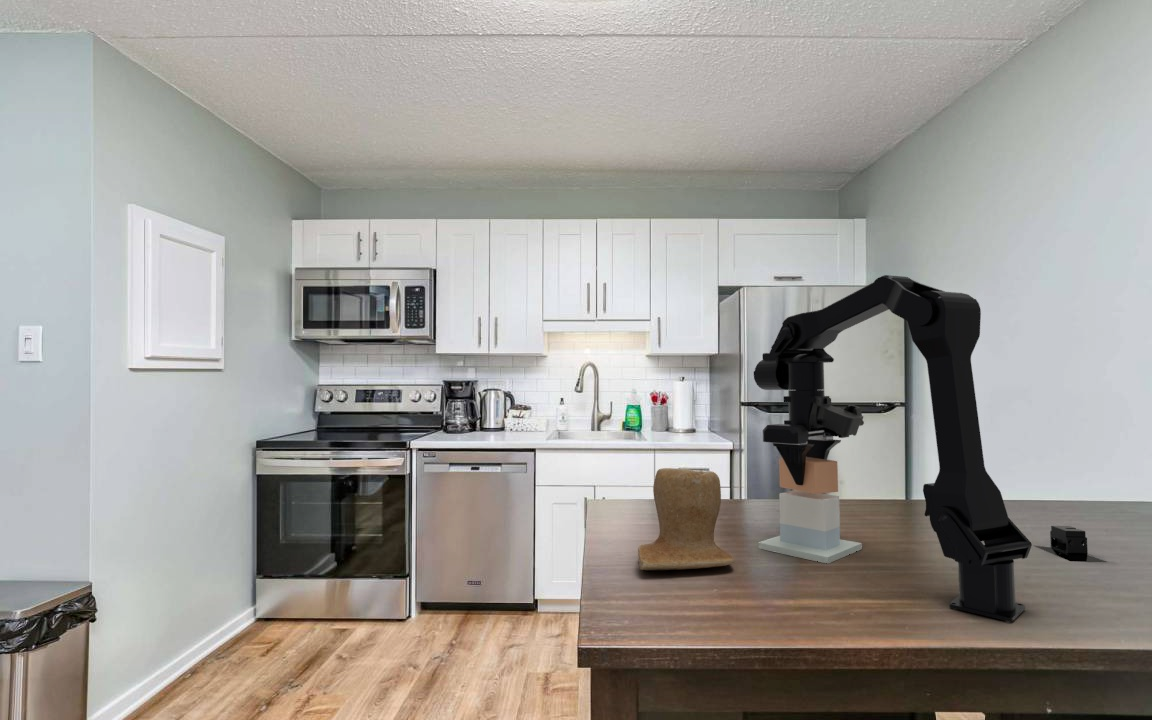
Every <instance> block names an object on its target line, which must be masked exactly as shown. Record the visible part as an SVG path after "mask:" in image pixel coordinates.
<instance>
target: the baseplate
mask: <svg viewBox="0 0 1152 720" xmlns="http://www.w3.org/2000/svg"><path fill="white" fill-rule="evenodd" d="M862 546H863V543H861V542H858V541H857V542H856V541H852V540H845V539H841V526H840V527H837V528H834V529H831V530H829V531H826V532H825V531H820V530H814V529H809V528H803V527H798V526H792V525H787V524H781V523H780V522H779V535H778V536H774V537H771V538H768V539H764V540H762V541H759V542H758V546H757V547H758V549H759V550H764V551H767V552H772V553H773V552H774V553H778V554H781V555H782V554H783V555H785V556H791V557H796V558H800V559H805V560H808V561H809V560H810V561H813V562H817V561H818V563H822V564H826V563H827V564H831V563H833V562H835V561H837V560H840V559H842V558H845V557H847V556H849V554H850V555H852V554H854V553H856V551H857V552H859V551H861V550H862V549H863V547H862Z"/></svg>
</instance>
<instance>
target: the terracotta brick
mask: <svg viewBox="0 0 1152 720" xmlns="http://www.w3.org/2000/svg"><path fill="white" fill-rule="evenodd" d="M778 460H779V461H778V462H779V464H778V467H779V469H778V470H779V473H778V475H779V487H780V488H783V489H788V490H792V491H793V490H797V491H802V492H807V493H812V494H829V493H830V494H831V493H838V492H839V476H838V475H839V473H838V471H839V470H838V460H831V459H827V460H825V459H818V458H811V457H806V463H805V474H804V482H803V485H796V483H795V481H794V479H793V477H792V475H791V473H790V471H789V469H788V467H787V465H786V464H785V462H784V460H783V458H782V457H778Z"/></svg>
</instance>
